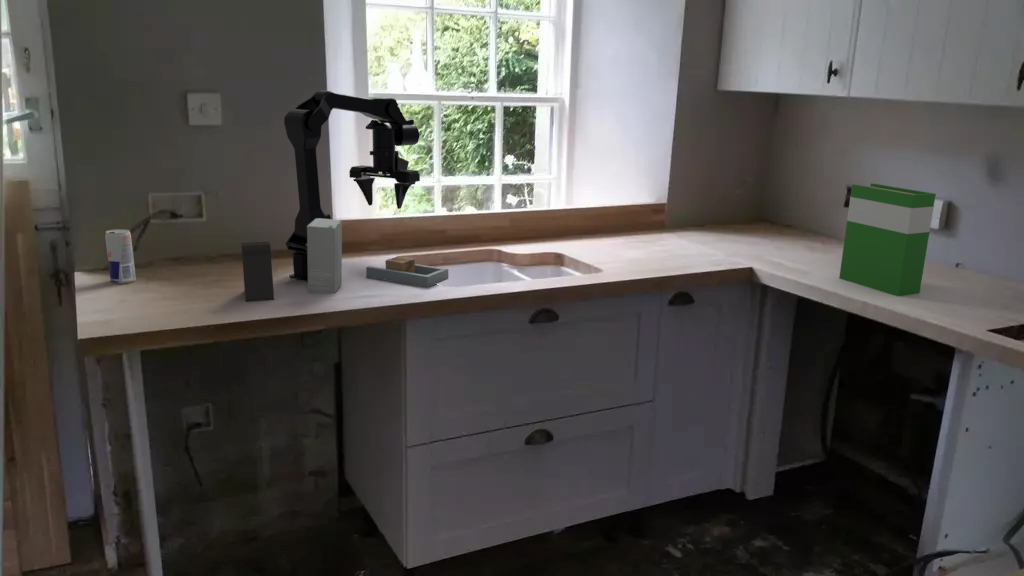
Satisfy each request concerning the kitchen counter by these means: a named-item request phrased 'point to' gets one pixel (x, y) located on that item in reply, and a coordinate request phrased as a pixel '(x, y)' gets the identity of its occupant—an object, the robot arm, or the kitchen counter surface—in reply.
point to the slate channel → (410, 275)
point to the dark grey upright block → (257, 271)
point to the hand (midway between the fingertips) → (384, 206)
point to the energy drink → (120, 256)
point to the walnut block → (401, 264)
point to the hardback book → (887, 238)
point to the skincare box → (324, 255)
